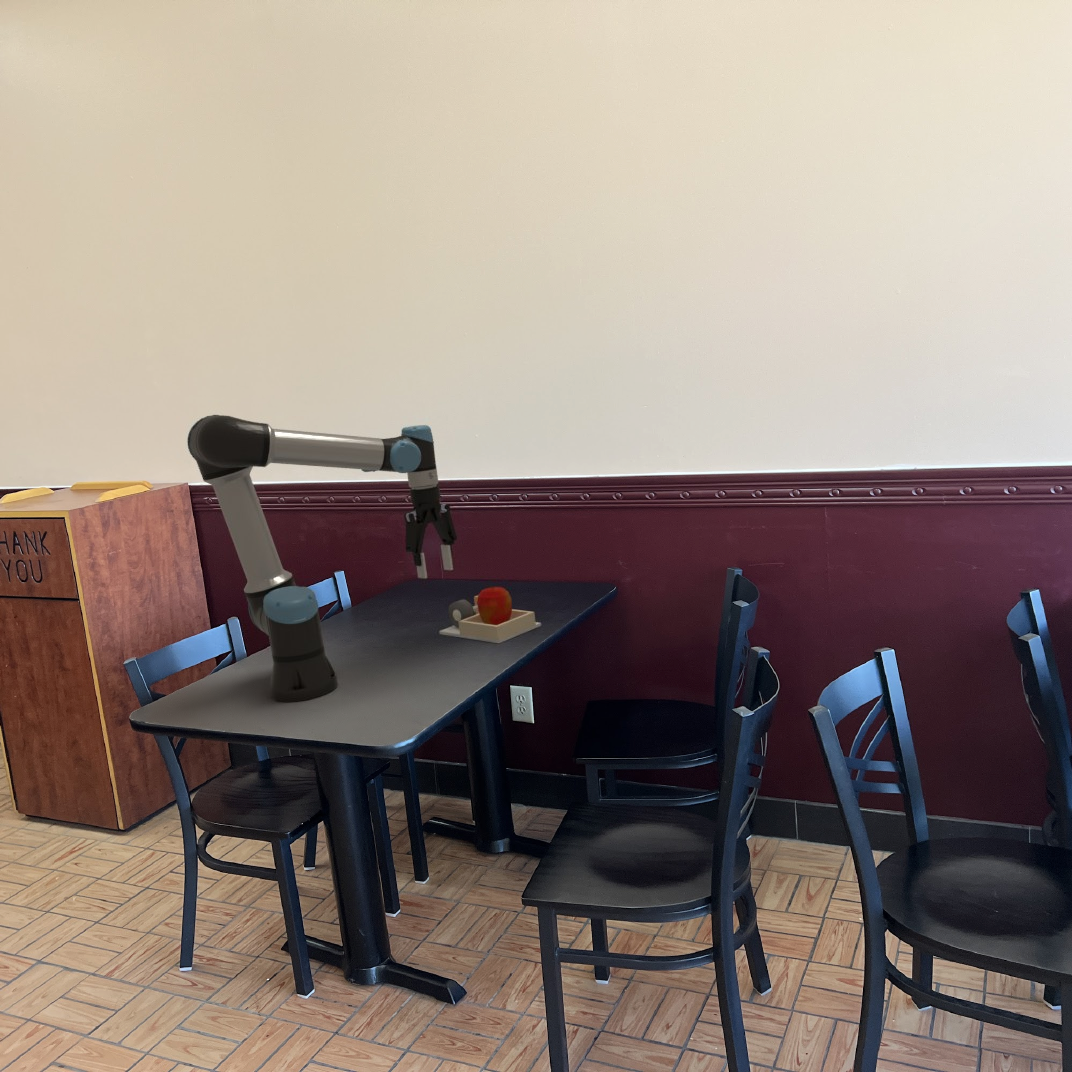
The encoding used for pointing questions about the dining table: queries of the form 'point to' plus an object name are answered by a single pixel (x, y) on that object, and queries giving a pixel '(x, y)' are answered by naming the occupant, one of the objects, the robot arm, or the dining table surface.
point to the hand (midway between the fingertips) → (435, 573)
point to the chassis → (493, 627)
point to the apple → (494, 605)
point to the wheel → (460, 611)
